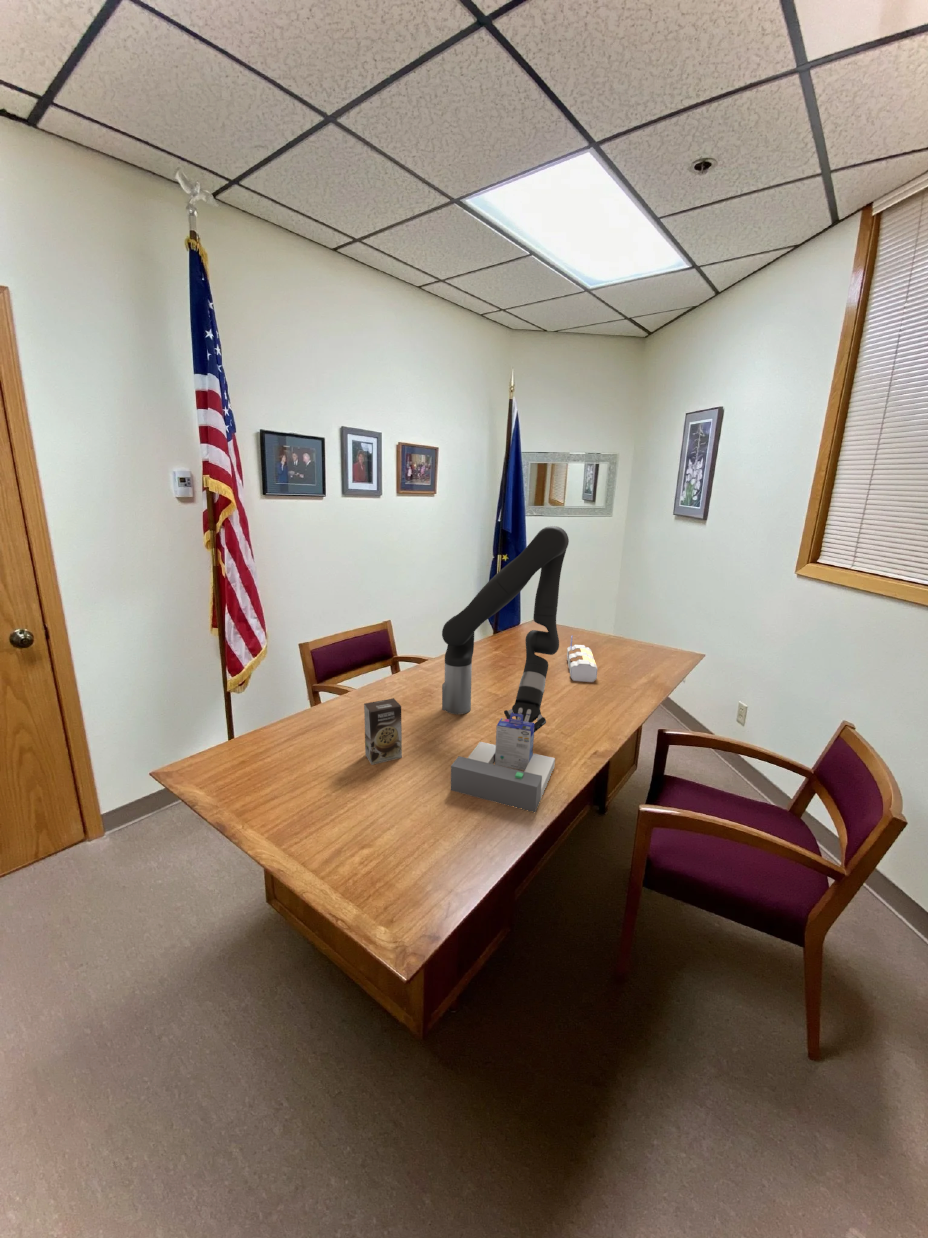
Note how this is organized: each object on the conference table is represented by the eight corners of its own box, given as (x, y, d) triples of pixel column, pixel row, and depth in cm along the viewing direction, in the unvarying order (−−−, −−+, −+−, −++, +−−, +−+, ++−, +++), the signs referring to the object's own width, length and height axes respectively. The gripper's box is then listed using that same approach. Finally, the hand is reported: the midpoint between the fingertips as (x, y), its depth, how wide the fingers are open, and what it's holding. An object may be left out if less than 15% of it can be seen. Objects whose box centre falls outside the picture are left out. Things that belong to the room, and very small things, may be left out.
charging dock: (450, 790, 122) (450, 763, 120) (479, 750, 141) (480, 727, 139) (535, 812, 114) (537, 784, 112) (554, 767, 133) (556, 743, 131)
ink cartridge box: (533, 761, 136) (535, 714, 132) (529, 772, 131) (532, 723, 127) (499, 755, 139) (500, 709, 135) (494, 765, 134) (496, 717, 130)
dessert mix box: (371, 765, 133) (369, 712, 128) (364, 754, 138) (362, 702, 134) (402, 758, 137) (401, 705, 132) (395, 747, 142) (394, 697, 138)
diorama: (566, 660, 219) (568, 632, 216) (589, 661, 218) (592, 634, 214) (570, 681, 195) (572, 650, 192) (596, 683, 194) (599, 652, 190)
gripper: (507, 681, 144) (493, 737, 136) (551, 688, 139) (539, 747, 131) (511, 691, 150) (498, 745, 142) (554, 698, 145) (542, 754, 137)
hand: (518, 746), depth 137 cm, fingers closed
